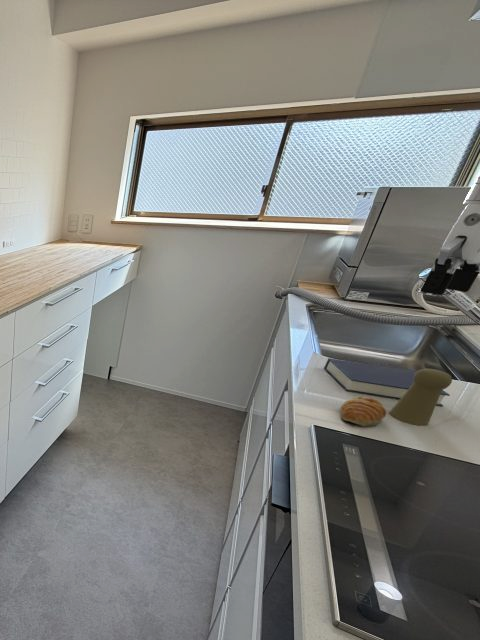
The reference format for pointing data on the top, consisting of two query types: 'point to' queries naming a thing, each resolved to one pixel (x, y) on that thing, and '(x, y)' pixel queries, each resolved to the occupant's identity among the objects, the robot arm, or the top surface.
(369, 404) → the pastry
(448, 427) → the top surface
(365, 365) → the book
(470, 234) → the robot arm
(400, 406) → the cork
